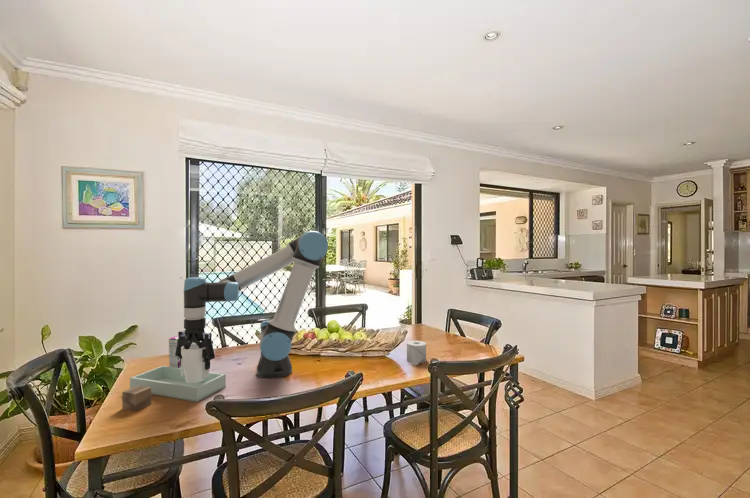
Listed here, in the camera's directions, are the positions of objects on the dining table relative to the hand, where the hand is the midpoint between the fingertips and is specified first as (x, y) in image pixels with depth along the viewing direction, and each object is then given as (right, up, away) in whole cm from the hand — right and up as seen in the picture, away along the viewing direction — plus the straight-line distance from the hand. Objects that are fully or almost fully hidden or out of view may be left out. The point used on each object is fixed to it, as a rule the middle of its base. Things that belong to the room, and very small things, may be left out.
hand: (194, 376), depth 144 cm
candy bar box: (-15, -6, +21) cm, 26 cm away
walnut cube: (-14, -6, -13) cm, 20 cm away
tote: (-8, -6, +3) cm, 10 cm away
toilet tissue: (+89, -6, +38) cm, 97 cm away
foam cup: (0, -2, 0) cm, 2 cm away
